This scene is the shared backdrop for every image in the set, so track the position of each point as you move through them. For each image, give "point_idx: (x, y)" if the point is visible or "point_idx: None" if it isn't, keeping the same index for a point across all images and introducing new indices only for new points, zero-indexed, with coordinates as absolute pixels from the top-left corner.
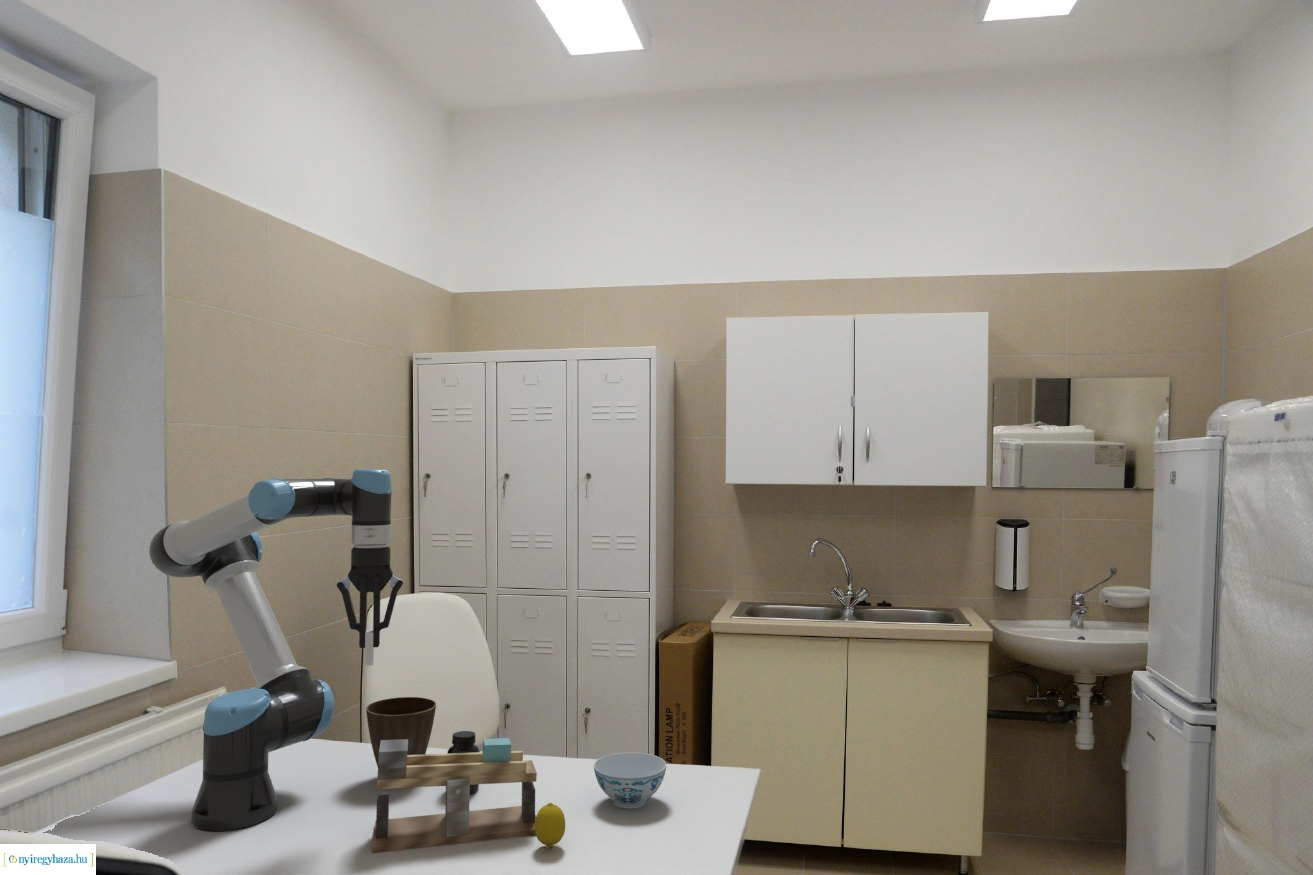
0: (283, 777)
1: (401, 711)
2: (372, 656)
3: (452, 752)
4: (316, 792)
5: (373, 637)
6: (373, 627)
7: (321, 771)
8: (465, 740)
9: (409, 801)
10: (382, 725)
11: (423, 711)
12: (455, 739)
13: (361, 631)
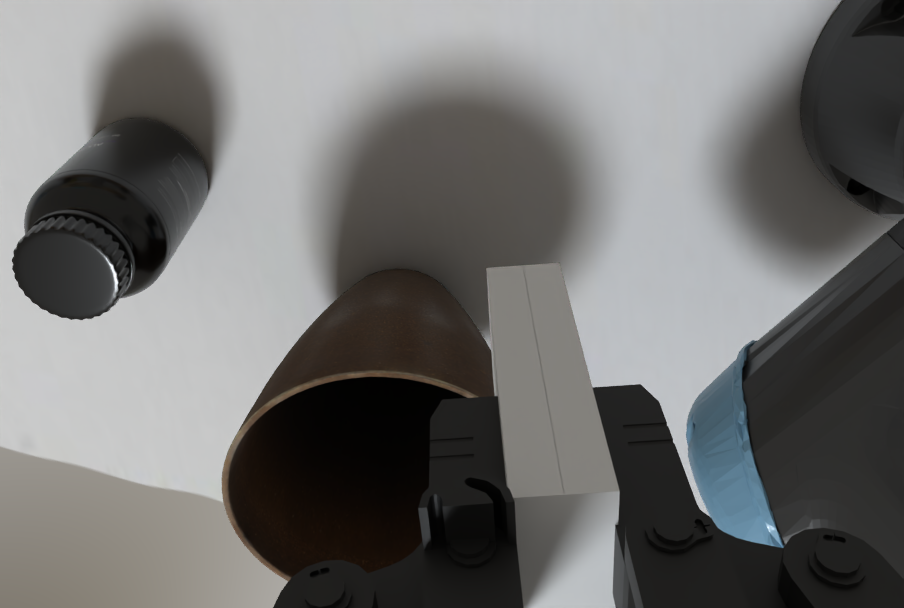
0: None
1: (403, 550)
2: (494, 313)
3: (129, 201)
4: (670, 242)
5: (503, 477)
6: (512, 557)
7: (664, 412)
8: (51, 221)
9: (331, 103)
10: (451, 359)
11: (259, 410)
12: (102, 239)
13: (679, 507)
